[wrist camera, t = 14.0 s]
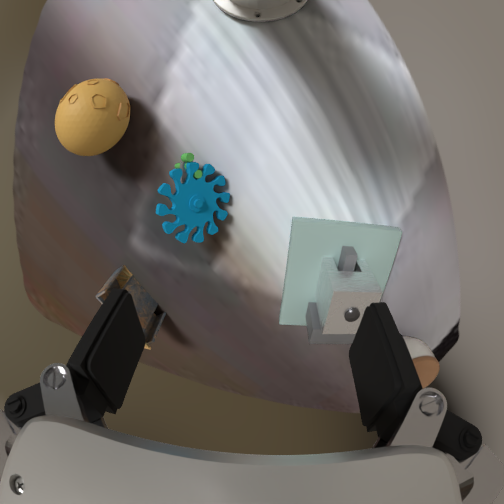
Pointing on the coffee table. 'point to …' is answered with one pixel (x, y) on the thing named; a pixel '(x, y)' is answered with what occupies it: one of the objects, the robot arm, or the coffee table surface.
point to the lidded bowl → (422, 360)
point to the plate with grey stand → (345, 256)
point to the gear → (192, 199)
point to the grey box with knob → (344, 296)
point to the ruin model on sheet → (135, 302)
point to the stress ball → (92, 117)
